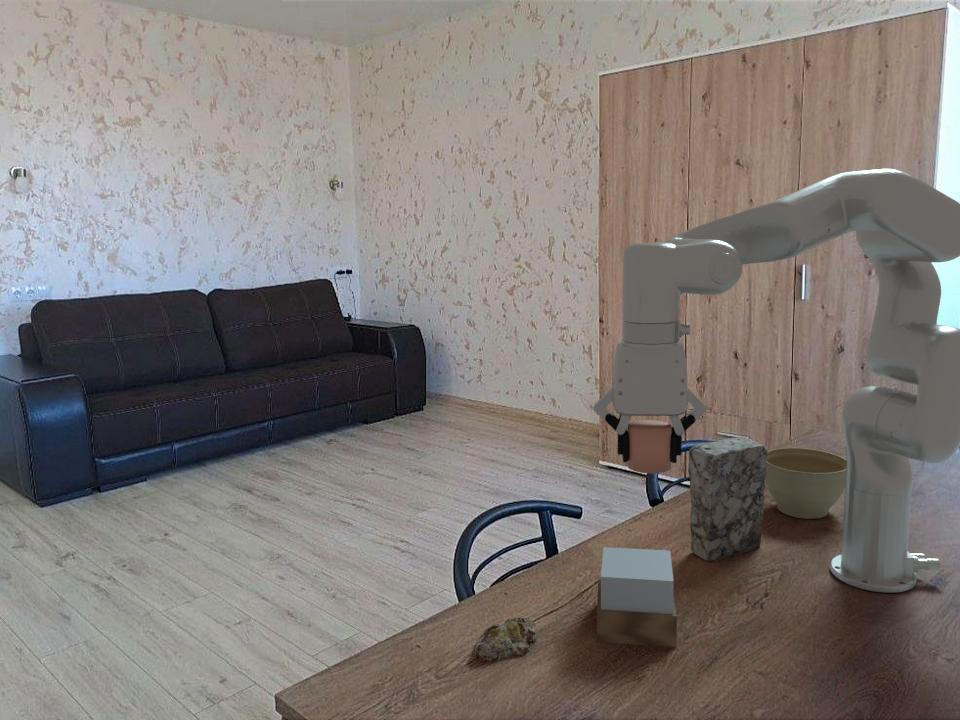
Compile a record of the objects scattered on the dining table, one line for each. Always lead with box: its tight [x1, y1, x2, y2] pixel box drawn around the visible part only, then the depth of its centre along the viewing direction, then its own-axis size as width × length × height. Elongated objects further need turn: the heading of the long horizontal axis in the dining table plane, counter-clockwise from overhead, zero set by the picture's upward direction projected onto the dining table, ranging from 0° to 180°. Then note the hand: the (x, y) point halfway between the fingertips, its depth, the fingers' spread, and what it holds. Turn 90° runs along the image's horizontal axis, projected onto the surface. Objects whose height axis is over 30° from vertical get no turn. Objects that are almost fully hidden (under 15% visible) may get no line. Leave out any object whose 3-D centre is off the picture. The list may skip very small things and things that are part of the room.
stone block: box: [688, 436, 769, 563], centre depth 134 cm, size 13×7×20 cm, turn 120°
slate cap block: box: [600, 546, 675, 614], centre depth 111 cm, size 10×10×5 cm
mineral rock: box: [474, 616, 537, 663], centre depth 108 cm, size 11×4×8 cm
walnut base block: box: [596, 575, 678, 648], centre depth 112 cm, size 11×11×5 cm
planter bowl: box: [765, 447, 846, 520], centre depth 152 cm, size 16×16×11 cm
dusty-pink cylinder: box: [626, 419, 673, 474], centre depth 106 cm, size 6×6×6 cm
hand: (648, 458), depth 107 cm, fingers closed on dusty-pink cylinder, 6 cm apart
